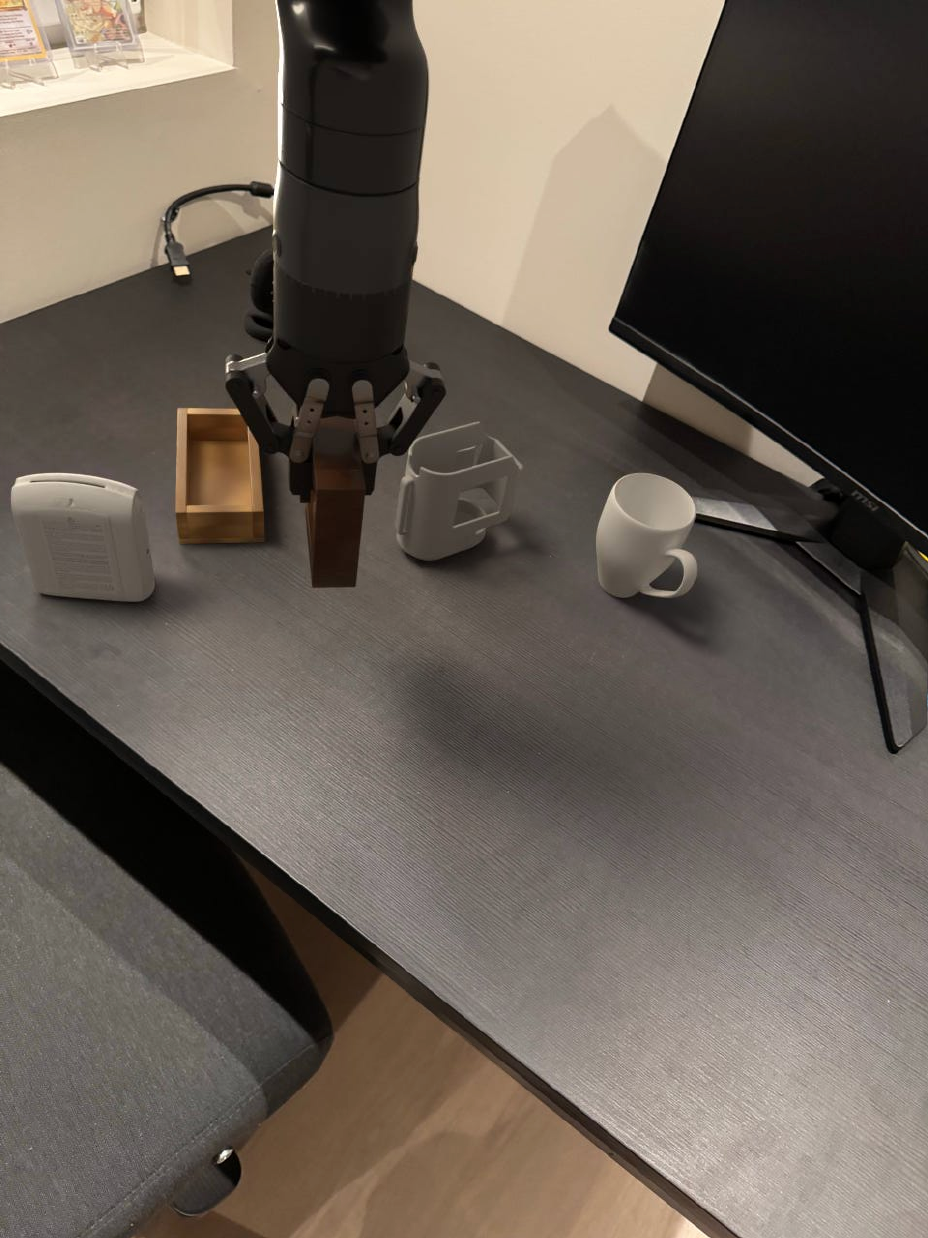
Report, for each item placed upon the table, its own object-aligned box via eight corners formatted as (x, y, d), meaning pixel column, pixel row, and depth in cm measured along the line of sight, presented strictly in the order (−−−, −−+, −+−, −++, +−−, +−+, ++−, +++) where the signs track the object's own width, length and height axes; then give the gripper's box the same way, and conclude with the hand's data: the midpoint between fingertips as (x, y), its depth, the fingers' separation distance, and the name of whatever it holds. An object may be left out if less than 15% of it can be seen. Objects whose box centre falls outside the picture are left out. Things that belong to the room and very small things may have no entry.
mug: (564, 563, 88) (595, 480, 80) (628, 547, 91) (664, 464, 83) (627, 649, 82) (668, 568, 73) (693, 627, 85) (739, 547, 77)
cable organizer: (508, 541, 89) (533, 450, 80) (407, 577, 83) (423, 484, 74) (473, 502, 92) (494, 410, 83) (374, 534, 86) (385, 439, 77)
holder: (179, 544, 81) (175, 512, 78) (180, 439, 91) (177, 407, 88) (264, 542, 83) (263, 511, 80) (257, 439, 93) (256, 408, 90)
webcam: (280, 350, 105) (280, 273, 97) (230, 328, 106) (226, 251, 99) (314, 324, 110) (316, 249, 102) (265, 303, 111) (264, 228, 104)
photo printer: (160, 572, 78) (144, 468, 69) (151, 607, 76) (133, 503, 66) (43, 563, 77) (11, 456, 68) (29, 598, 74) (-7, 491, 65)
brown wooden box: (312, 588, 58) (316, 488, 51) (303, 491, 64) (306, 390, 57) (355, 587, 58) (366, 488, 52) (342, 491, 65) (350, 391, 58)
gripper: (459, 229, 49) (422, 461, 62) (209, 209, 46) (224, 458, 59) (484, 296, 45) (438, 532, 58) (208, 279, 41) (224, 533, 54)
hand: (330, 494), depth 58 cm, fingers closed on brown wooden box, 3 cm apart
